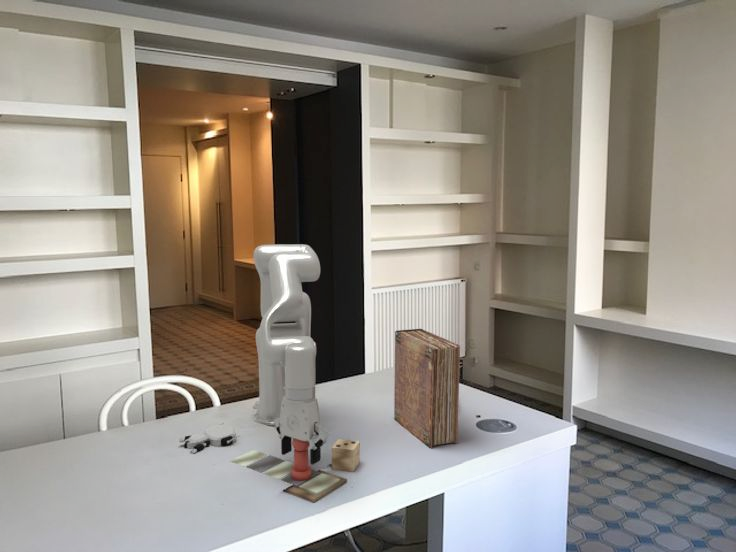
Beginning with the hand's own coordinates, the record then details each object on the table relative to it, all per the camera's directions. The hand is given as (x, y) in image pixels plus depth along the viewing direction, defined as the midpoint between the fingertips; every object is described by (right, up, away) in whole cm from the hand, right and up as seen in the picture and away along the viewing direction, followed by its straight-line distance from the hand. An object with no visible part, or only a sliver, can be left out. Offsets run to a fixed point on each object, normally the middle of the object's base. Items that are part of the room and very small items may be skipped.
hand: (300, 457), depth 150 cm
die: (+11, -5, +10) cm, 16 cm away
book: (+35, -3, +35) cm, 49 cm away
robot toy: (-29, -4, +22) cm, 37 cm away
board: (-5, -6, +4) cm, 9 cm away
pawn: (0, -5, 0) cm, 5 cm away
